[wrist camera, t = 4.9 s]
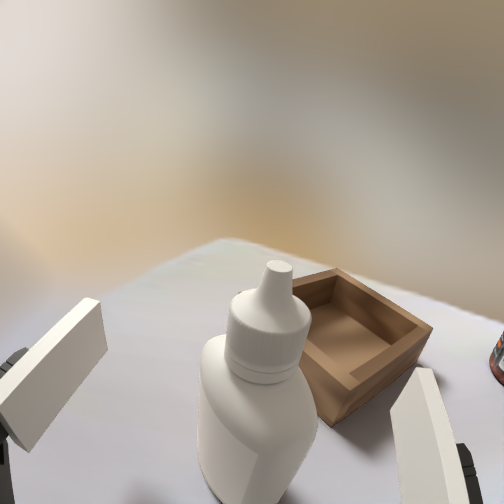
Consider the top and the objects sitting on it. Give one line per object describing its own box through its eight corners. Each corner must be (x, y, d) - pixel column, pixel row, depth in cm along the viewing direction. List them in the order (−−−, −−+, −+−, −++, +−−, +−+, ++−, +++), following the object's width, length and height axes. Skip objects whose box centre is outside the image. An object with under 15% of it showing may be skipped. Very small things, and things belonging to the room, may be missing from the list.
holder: (416, 361, 23) (433, 328, 21) (330, 427, 17) (349, 390, 15) (328, 299, 31) (337, 268, 29) (233, 330, 25) (238, 292, 23)
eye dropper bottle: (184, 510, 11) (171, 313, 6) (201, 425, 16) (215, 221, 11) (277, 520, 11) (386, 339, 6) (277, 434, 16) (336, 239, 11)
